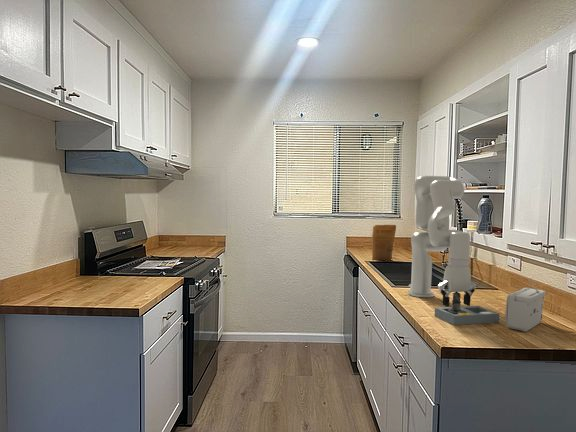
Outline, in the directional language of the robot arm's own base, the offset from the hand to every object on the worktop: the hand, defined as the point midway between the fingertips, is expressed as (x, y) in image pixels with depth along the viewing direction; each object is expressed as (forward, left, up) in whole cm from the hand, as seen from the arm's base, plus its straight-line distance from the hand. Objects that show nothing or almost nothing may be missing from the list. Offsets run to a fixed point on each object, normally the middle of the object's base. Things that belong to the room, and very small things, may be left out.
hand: (456, 305), depth 162 cm
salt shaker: (0, 0, -6) cm, 6 cm away
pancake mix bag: (-145, +45, -6) cm, 152 cm away
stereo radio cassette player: (+11, +23, -6) cm, 26 cm away
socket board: (0, +5, -6) cm, 8 cm away
